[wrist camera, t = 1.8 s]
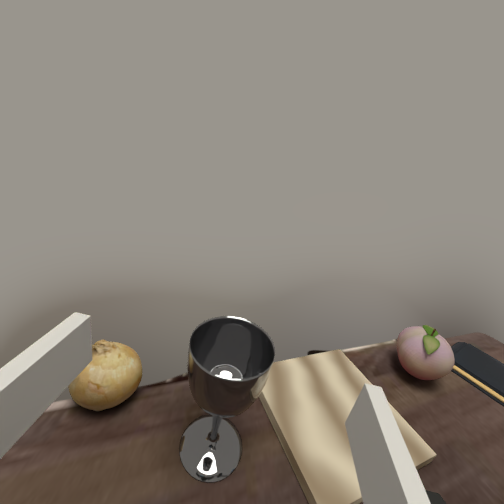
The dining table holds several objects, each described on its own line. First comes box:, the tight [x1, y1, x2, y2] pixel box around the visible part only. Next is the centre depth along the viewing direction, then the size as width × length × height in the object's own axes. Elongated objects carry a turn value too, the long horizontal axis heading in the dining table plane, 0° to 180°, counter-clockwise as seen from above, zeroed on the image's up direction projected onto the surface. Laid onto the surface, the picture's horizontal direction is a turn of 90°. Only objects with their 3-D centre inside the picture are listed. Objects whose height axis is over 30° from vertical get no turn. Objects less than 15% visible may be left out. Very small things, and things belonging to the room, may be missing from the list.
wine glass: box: [179, 316, 275, 483], centre depth 27 cm, size 8×8×15 cm
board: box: [259, 349, 436, 504], centre depth 36 cm, size 18×18×2 cm
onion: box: [68, 340, 142, 411], centre depth 31 cm, size 8×8×7 cm
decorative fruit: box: [397, 325, 455, 380], centre depth 45 cm, size 9×8×10 cm
